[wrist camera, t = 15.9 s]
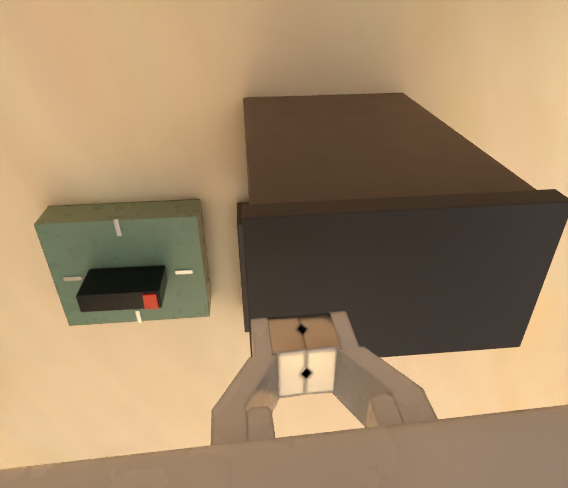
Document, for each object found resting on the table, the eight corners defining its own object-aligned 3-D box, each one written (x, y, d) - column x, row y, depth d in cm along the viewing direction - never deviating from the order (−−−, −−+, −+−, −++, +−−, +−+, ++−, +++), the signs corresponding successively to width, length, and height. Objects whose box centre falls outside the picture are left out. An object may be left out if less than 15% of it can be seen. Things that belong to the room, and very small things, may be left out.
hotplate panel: (79, 304, 41) (68, 328, 38) (47, 205, 35) (32, 224, 33) (211, 296, 41) (209, 318, 39) (199, 198, 36) (196, 216, 33)
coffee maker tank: (244, 189, 36) (251, 367, 20) (238, 93, 32) (241, 218, 16) (395, 182, 37) (519, 347, 21) (407, 88, 33) (574, 201, 17)
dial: (93, 284, 36) (79, 315, 33) (88, 268, 35) (74, 298, 32) (168, 280, 36) (161, 310, 33) (165, 264, 36) (158, 293, 32)
